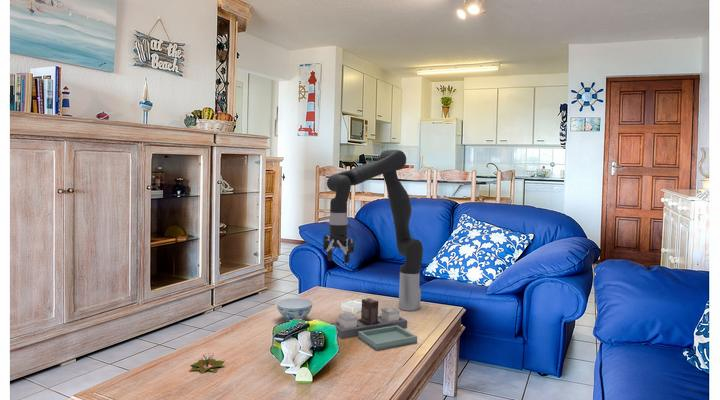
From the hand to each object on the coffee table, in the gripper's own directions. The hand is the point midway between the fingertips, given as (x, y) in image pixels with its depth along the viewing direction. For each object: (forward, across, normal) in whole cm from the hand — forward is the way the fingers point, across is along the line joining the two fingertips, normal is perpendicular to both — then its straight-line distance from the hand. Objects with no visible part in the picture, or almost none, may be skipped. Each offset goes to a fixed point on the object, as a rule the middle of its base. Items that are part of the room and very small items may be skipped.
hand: (338, 261), depth 200 cm
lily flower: (+26, +8, +60) cm, 66 cm away
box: (+27, -14, -3) cm, 30 cm away
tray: (+26, -27, +4) cm, 38 cm away
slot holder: (+26, -14, -3) cm, 30 cm away
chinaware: (+26, +16, +9) cm, 32 cm away
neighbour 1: (+26, -10, +6) cm, 29 cm away
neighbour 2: (+27, -19, -12) cm, 35 cm away
